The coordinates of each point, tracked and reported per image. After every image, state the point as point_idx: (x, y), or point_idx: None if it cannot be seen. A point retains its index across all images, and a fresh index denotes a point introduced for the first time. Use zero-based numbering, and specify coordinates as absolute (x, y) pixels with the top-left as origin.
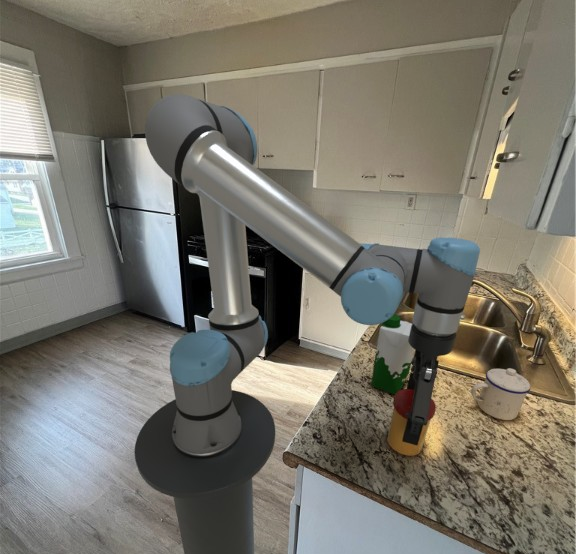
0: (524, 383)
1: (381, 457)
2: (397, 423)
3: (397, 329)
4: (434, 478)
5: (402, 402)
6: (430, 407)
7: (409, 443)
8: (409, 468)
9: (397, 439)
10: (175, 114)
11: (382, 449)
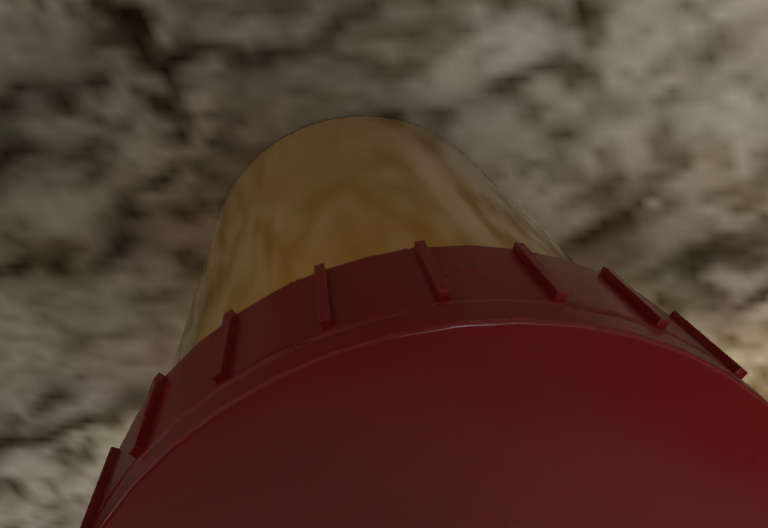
0: None
1: (87, 75)
2: (226, 274)
3: None
4: (77, 469)
5: (334, 485)
6: None
7: None
8: (82, 310)
9: (218, 233)
10: None
11: (193, 79)
